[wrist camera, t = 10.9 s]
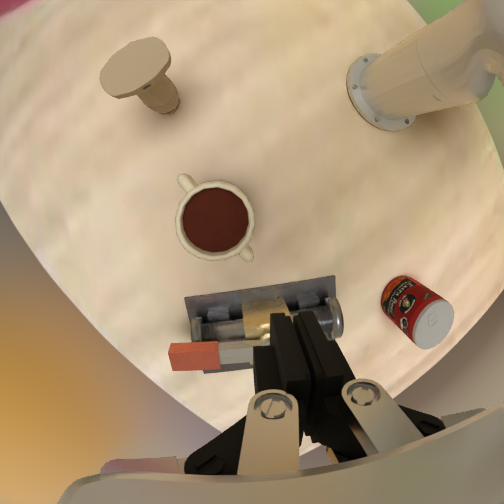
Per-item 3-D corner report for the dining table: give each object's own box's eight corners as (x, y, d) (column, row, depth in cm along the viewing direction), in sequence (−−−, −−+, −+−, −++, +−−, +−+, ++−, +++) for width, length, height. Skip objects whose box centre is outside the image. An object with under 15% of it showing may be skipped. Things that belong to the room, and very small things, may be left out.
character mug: (172, 193, 36) (144, 202, 23) (214, 157, 35) (205, 147, 22) (225, 254, 38) (223, 292, 26) (266, 220, 38) (285, 244, 25)
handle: (197, 105, 33) (178, 63, 18) (156, 130, 33) (112, 106, 19) (181, 78, 32) (154, 28, 17) (140, 103, 32) (92, 69, 18)
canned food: (398, 266, 41) (438, 291, 31) (423, 288, 43) (461, 314, 32) (371, 304, 43) (404, 339, 32) (398, 323, 44) (431, 356, 34)
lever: (284, 331, 34) (288, 341, 32) (285, 354, 35) (288, 365, 33) (170, 339, 33) (167, 350, 31) (176, 362, 34) (173, 373, 32)
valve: (334, 275, 41) (352, 294, 34) (334, 351, 44) (348, 376, 38) (184, 297, 40) (176, 320, 33) (204, 372, 43) (201, 400, 37)
